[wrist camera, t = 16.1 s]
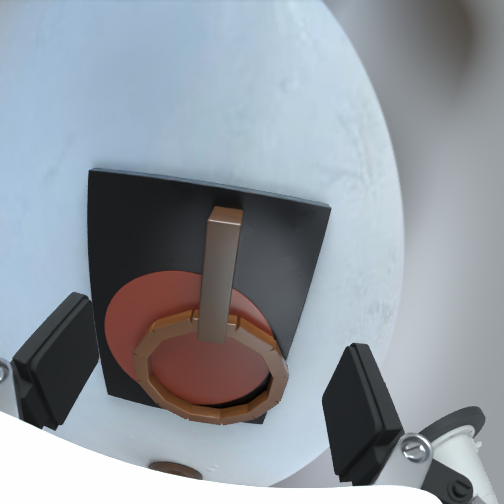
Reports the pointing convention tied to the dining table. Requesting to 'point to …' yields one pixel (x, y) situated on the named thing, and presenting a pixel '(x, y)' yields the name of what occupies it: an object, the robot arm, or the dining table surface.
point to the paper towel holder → (176, 470)
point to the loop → (214, 329)
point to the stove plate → (193, 280)
